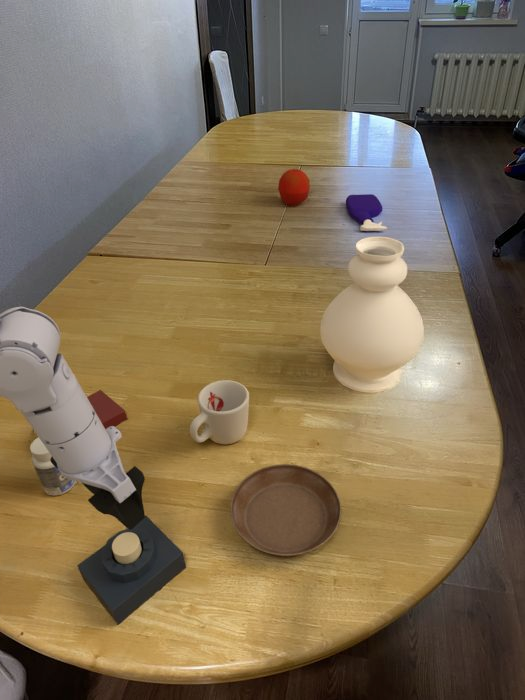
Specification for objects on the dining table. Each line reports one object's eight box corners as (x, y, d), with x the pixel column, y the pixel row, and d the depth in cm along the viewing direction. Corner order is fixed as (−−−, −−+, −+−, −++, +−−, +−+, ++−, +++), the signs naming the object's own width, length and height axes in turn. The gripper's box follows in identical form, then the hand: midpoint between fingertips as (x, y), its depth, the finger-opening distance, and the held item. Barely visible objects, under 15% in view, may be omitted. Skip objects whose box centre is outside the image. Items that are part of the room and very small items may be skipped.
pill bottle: (71, 496, 75) (55, 456, 70) (39, 496, 75) (21, 456, 70) (81, 471, 79) (66, 431, 74) (50, 471, 79) (34, 431, 74)
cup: (212, 469, 78) (206, 431, 73) (179, 443, 83) (172, 406, 78) (261, 431, 84) (259, 394, 79) (228, 409, 89) (224, 373, 84)
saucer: (278, 460, 79) (278, 447, 77) (361, 511, 71) (362, 499, 69) (209, 523, 70) (207, 511, 69) (294, 591, 62) (294, 578, 60)
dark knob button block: (117, 625, 59) (108, 602, 57) (83, 580, 64) (73, 556, 61) (186, 567, 65) (181, 543, 62) (149, 529, 70) (143, 506, 67)
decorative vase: (339, 335, 106) (345, 218, 91) (426, 357, 99) (449, 233, 84) (303, 385, 93) (305, 259, 79) (401, 414, 86) (422, 281, 72)
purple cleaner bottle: (344, 194, 166) (353, 225, 146) (378, 193, 165) (392, 224, 146) (343, 203, 167) (353, 235, 148) (377, 202, 167) (391, 233, 147)
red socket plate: (61, 464, 80) (54, 446, 78) (34, 435, 85) (27, 417, 83) (131, 422, 87) (127, 404, 85) (102, 398, 92) (97, 380, 90)
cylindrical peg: (124, 569, 60) (121, 561, 59) (109, 552, 62) (106, 544, 61) (147, 551, 62) (144, 543, 61) (132, 535, 64) (129, 527, 63)
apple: (312, 207, 166) (313, 171, 159) (281, 210, 165) (281, 173, 158) (306, 197, 174) (306, 162, 167) (276, 199, 173) (275, 164, 166)
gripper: (138, 427, 49) (182, 512, 57) (68, 375, 58) (115, 454, 66) (73, 477, 45) (130, 559, 53) (11, 413, 55) (67, 492, 63)
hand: (118, 504), depth 60 cm, fingers open, 7 cm apart
